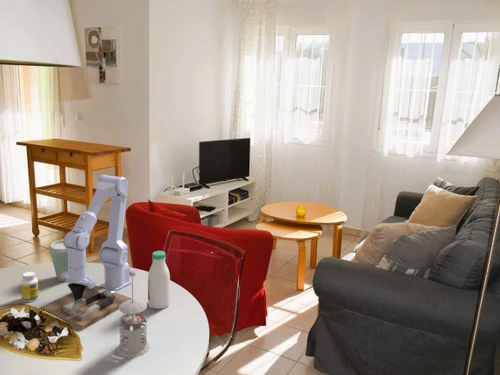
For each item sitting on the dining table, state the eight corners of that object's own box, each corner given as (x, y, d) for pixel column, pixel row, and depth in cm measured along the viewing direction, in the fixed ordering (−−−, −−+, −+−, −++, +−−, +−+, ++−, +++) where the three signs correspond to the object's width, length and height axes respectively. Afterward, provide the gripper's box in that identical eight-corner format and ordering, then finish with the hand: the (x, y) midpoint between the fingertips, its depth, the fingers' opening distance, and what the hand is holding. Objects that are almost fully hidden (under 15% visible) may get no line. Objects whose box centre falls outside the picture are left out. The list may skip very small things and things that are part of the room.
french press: (118, 360, 121) (116, 280, 115) (114, 338, 131) (112, 264, 126) (152, 353, 125) (152, 275, 119) (146, 332, 135) (145, 260, 130)
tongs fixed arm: (105, 300, 151) (105, 295, 151) (113, 303, 149) (113, 298, 149) (74, 317, 139) (73, 311, 139) (82, 321, 138) (82, 314, 137)
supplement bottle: (31, 303, 150) (30, 278, 147) (18, 301, 151) (16, 276, 148) (42, 296, 155) (40, 271, 153) (29, 294, 156) (27, 269, 154)
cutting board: (90, 287, 164) (90, 283, 163) (131, 301, 154) (131, 298, 154) (39, 311, 145) (39, 307, 144) (82, 329, 135) (82, 325, 135)
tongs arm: (107, 292, 157) (107, 286, 156) (118, 297, 154) (118, 290, 153) (63, 311, 142) (62, 304, 142) (74, 317, 139) (74, 310, 139)
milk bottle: (173, 302, 155) (174, 251, 151) (161, 311, 148) (161, 258, 144) (156, 297, 158) (156, 247, 154) (143, 306, 152) (143, 254, 147)
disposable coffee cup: (83, 278, 170) (82, 243, 167) (56, 286, 163) (54, 250, 159) (72, 270, 177) (71, 236, 174) (46, 277, 170) (43, 242, 166)
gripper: (52, 264, 144) (54, 300, 147) (82, 274, 138) (83, 312, 141) (70, 257, 150) (71, 292, 153) (99, 267, 144) (100, 303, 147)
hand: (78, 301), depth 148 cm, fingers closed
